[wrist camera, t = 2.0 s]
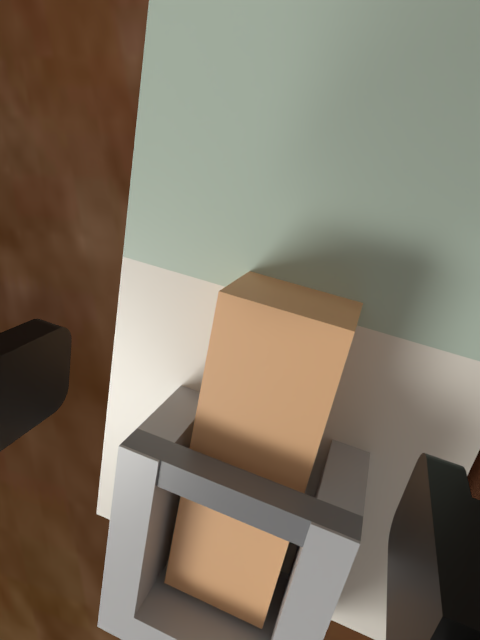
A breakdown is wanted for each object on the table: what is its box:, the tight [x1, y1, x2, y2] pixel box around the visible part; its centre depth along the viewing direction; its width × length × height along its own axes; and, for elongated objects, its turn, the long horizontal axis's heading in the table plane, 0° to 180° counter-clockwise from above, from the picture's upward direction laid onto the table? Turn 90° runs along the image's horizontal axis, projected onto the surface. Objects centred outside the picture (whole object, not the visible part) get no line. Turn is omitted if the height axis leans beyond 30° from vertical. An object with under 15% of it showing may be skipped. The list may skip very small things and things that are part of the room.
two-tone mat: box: [97, 0, 480, 640], centre depth 15 cm, size 14×23×6 cm, turn 169°
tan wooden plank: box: [164, 271, 363, 629], centre depth 16 cm, size 4×12×3 cm, turn 169°
